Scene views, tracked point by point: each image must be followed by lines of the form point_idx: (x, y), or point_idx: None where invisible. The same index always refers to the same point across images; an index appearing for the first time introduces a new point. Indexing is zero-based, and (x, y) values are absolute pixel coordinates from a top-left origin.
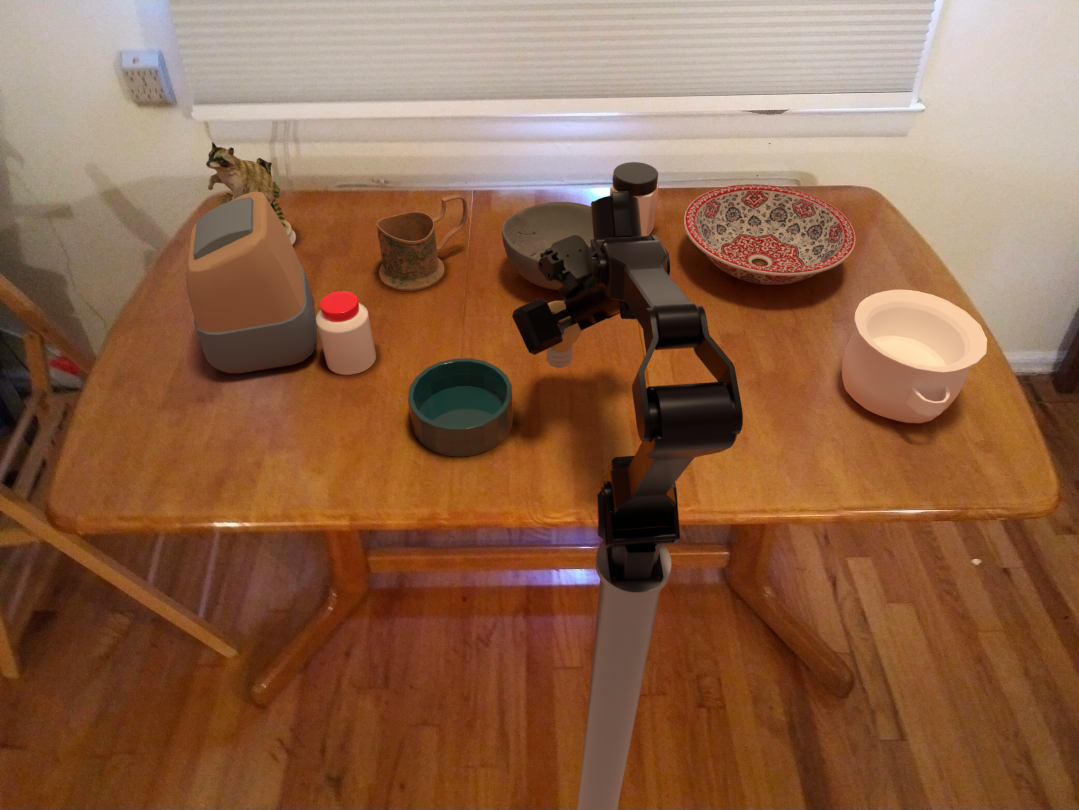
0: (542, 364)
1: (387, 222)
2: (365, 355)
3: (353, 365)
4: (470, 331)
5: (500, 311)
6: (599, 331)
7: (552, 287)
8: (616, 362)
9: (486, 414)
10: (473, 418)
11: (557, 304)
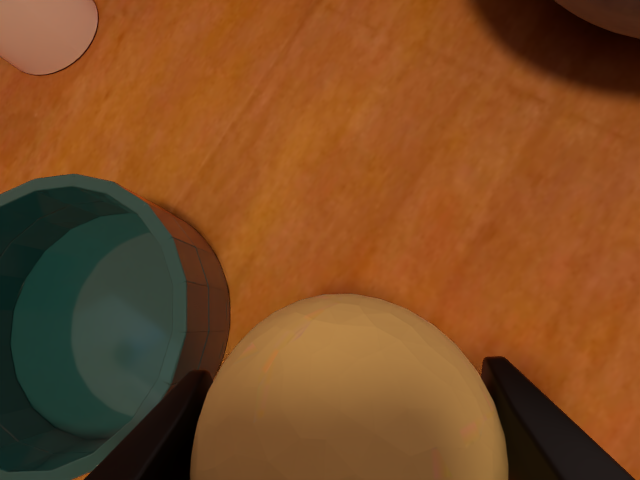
0: (385, 252)
1: None
2: (26, 45)
3: (9, 58)
4: (298, 58)
5: (402, 24)
6: (614, 217)
7: (573, 11)
8: (586, 364)
9: (156, 346)
10: (125, 340)
11: (322, 463)
